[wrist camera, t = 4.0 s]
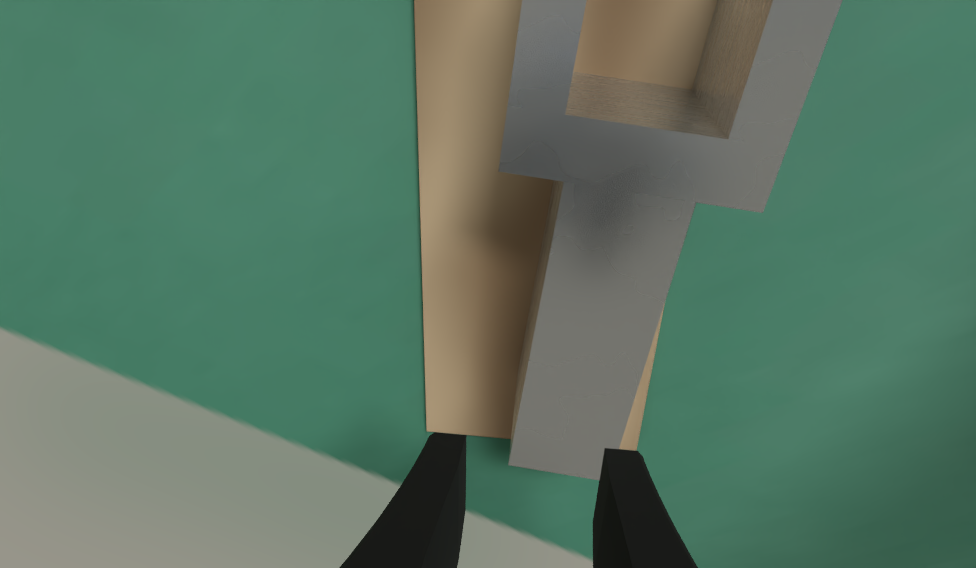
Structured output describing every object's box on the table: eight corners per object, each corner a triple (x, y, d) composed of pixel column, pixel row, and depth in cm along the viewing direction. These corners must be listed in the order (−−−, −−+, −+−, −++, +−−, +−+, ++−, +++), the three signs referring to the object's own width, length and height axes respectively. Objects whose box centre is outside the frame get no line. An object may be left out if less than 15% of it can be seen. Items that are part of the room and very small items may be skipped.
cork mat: (731, -62, 16) (735, -61, 16) (635, 443, 25) (636, 450, 24) (415, -72, 17) (411, -72, 16) (428, 424, 25) (426, 431, 25)
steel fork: (790, -70, 15) (866, -65, 12) (642, 392, 23) (658, 490, 19) (544, -106, 16) (537, -112, 12) (476, 365, 23) (458, 456, 19)
